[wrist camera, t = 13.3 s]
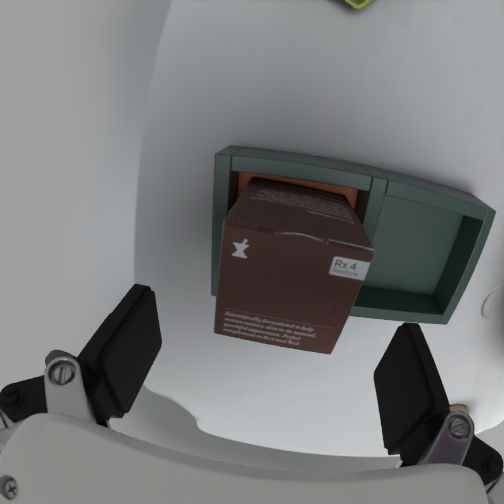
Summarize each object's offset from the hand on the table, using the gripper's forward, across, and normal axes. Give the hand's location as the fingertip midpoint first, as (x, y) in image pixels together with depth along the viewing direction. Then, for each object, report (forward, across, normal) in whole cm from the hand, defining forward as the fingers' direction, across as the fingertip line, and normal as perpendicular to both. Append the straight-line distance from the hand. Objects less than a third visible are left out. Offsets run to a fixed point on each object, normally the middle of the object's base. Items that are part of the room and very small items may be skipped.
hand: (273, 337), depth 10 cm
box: (+10, 0, 0) cm, 10 cm away
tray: (+10, -5, -1) cm, 11 cm away
